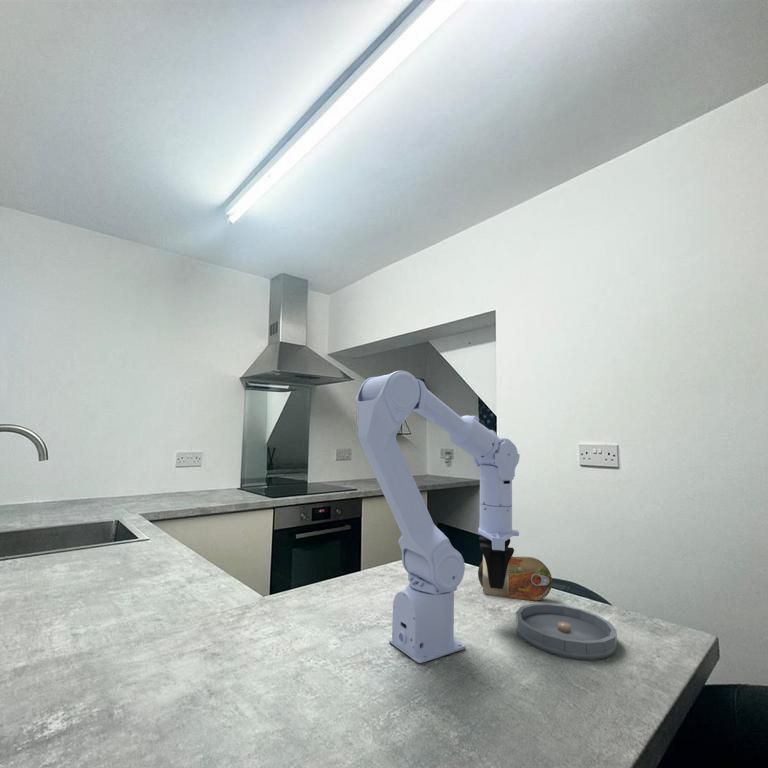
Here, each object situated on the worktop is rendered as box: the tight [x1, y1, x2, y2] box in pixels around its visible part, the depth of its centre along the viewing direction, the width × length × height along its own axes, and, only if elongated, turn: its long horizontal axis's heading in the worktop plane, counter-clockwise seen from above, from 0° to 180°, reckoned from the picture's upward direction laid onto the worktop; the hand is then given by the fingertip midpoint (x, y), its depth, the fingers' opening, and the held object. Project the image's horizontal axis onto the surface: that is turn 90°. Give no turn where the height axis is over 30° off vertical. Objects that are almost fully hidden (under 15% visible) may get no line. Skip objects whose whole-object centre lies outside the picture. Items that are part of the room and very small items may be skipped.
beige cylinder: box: [482, 554, 508, 597], centre depth 75 cm, size 4×4×6 cm
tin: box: [477, 554, 553, 602], centre depth 90 cm, size 15×3×8 cm, turn 75°
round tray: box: [515, 602, 618, 661], centre depth 71 cm, size 16×16×2 cm
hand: (495, 583), depth 74 cm, fingers closed on beige cylinder, 4 cm apart
